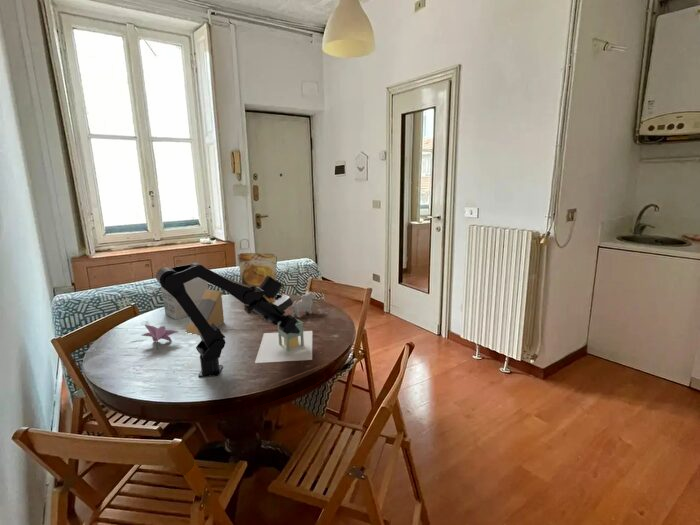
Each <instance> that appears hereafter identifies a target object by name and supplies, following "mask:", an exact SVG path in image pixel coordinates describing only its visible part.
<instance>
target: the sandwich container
mask: <svg viewBox="0 0 700 525" xmlns="http://www.w3.org/2000/svg"><path fill="white" fill-rule="evenodd" d="M222 294H223V293H222V291H220V290H214V289H209V288H208V289H206V291H205V293H204V295H203V297H202V300H201V302H200V304H199V306H198V309H199V311H200V312H201V314H202V315H203V316H204V318H205V319H206V321H207V322H208V323H209V325H212V324H213V323H214V324H215V325H216V326H217V327H218V326H219V325H222V324H223V323H225V322H224V321H225V319H224V317H225V316H224V308H223V306H224V305H223V297H222V296H223V295H222ZM185 332H187V333H186V334H188V333H192V334H191V335H193V334H197V335H196V336H200V335H199V332H198V329H197V328H196V326H195V325H194V324H193V322H192V321H191V320H190V322H189V324H188V326H187V328H186V329H185V331H184V333H185Z"/></svg>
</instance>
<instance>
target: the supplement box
mask: <svg viewBox="0 0 700 525" xmlns="http://www.w3.org/2000/svg"><path fill="white" fill-rule="evenodd" d="M208 283H209V282H207V281H205V280H203V279H201V278H199V277H197V278H194V279H192V280H190V281H188V282H186V283H183V284H184V286H185V289H186V292H187V294H188V295H189V297H190V298H191V299H192V301H193V302H194V304H195V305H196V306H197V308H198V306H199V304H200V302H201V300H202V297H203V295H204V293H205V291H206V289H208V290H209V284H208ZM160 286H161V285H160ZM161 295H162V300H163V308H164V314H165V315H167V316H169V317H170V318H172V319H175V320H179V319H182V318H186V317H188V315H187V314H186V313H185V311H184V310H183V309H182V307H181V306H180V304H179V303H178V302H177V300H176V299H175V298H174V297H173V296H172V295H171V294H170V293H168V292H167V291H166V290H165V289H164V288H163V287H162V286H161Z"/></svg>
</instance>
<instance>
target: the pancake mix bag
mask: <svg viewBox="0 0 700 525" xmlns="http://www.w3.org/2000/svg"><path fill="white" fill-rule="evenodd" d="M237 260H238V261H237V262H238V267H239V276H240V283H241V284H245V285H247V286H257V287H260V286H261V284H262V283H263V282H264V280H265V278H266V277H267V276H270V277H271V278H273V279H274V280H276V281H277V268H278V267H277V265H278V257H277V255H275V254H274V253H255V252H254V253H253V252H243V253H239V254H237ZM263 297H264V298H265V299H267V300H268V301H269V302H272V303H274V302H275V301H274V300H275V298H273V299H272V298H270V299H268V298H267V297H266V296H264V295H263ZM244 305H246V304H244V303H243V309H244V310H245V306H244ZM251 312H255V311H254V310H252V311H251Z"/></svg>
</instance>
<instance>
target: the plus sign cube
mask: <svg viewBox="0 0 700 525" xmlns="http://www.w3.org/2000/svg"><path fill="white" fill-rule="evenodd" d="M284 345H285V346H286V339H285V338H284ZM298 345H299V344H298V337H295V338H292V339H289V348H292V347H295V346H298Z"/></svg>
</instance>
